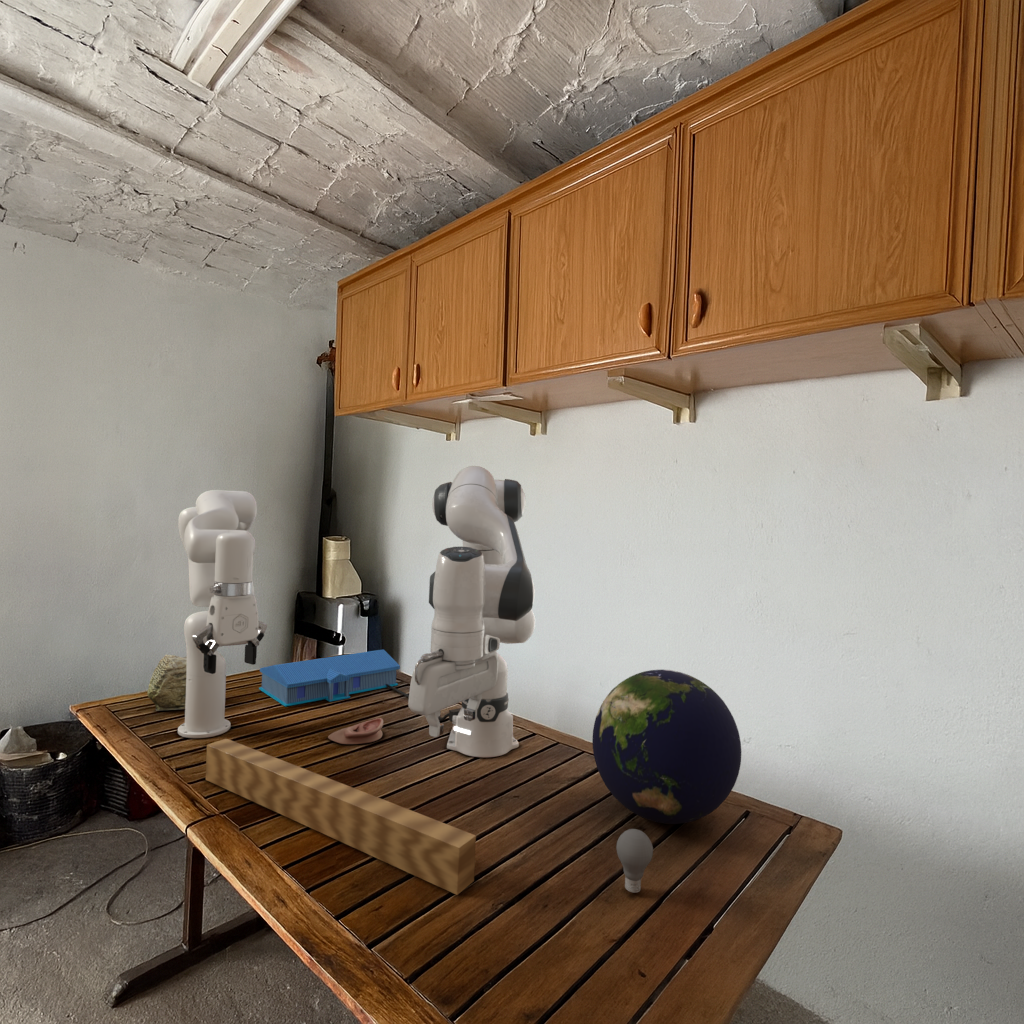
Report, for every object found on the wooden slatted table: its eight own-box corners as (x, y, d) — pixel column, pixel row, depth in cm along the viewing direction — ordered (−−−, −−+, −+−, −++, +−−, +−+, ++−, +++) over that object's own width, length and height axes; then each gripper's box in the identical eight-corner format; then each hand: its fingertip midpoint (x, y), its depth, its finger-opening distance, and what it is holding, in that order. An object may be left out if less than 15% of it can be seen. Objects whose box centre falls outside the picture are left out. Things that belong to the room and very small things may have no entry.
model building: (289, 709, 186) (291, 675, 185) (258, 688, 204) (259, 657, 204) (403, 687, 212) (405, 657, 212) (366, 670, 230) (368, 643, 230)
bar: (205, 779, 139) (206, 744, 139) (225, 772, 143) (226, 738, 143) (457, 895, 103) (459, 847, 102) (474, 881, 107) (476, 835, 107)
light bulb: (610, 879, 108) (613, 822, 108) (644, 879, 109) (647, 822, 109) (619, 902, 102) (622, 840, 102) (655, 901, 103) (658, 840, 103)
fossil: (144, 707, 182) (145, 655, 182) (212, 696, 194) (213, 647, 194) (151, 716, 175) (153, 662, 175) (221, 703, 188) (223, 653, 188)
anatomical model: (322, 726, 163) (343, 712, 174) (321, 741, 163) (342, 726, 174) (370, 732, 160) (388, 717, 171) (370, 747, 160) (388, 732, 171)
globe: (571, 831, 124) (578, 679, 123) (607, 773, 151) (613, 648, 151) (733, 872, 112) (742, 704, 112) (740, 800, 140) (747, 665, 139)
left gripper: (206, 595, 128) (203, 679, 129) (278, 587, 143) (275, 663, 143) (185, 591, 132) (182, 673, 133) (256, 584, 147) (254, 657, 147)
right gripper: (432, 660, 95) (428, 751, 95) (505, 638, 113) (502, 715, 113) (400, 653, 99) (397, 741, 99) (476, 632, 116) (473, 707, 116)
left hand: (230, 667), depth 138 cm, fingers open, 9 cm apart
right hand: (453, 727), depth 106 cm, fingers open, 8 cm apart
